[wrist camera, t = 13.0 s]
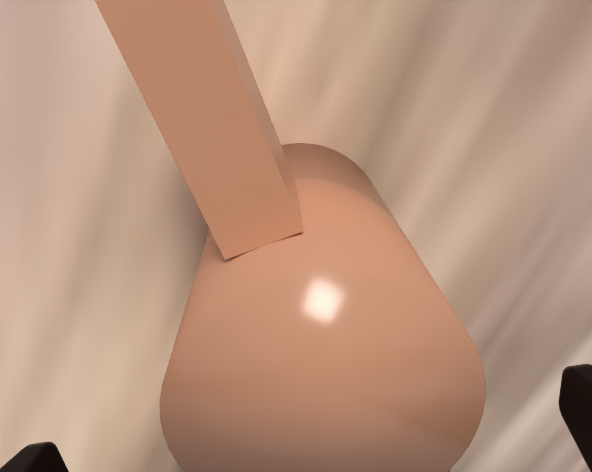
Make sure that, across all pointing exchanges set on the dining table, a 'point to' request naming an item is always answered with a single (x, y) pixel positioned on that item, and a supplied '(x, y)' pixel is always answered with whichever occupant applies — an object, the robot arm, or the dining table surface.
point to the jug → (290, 282)
